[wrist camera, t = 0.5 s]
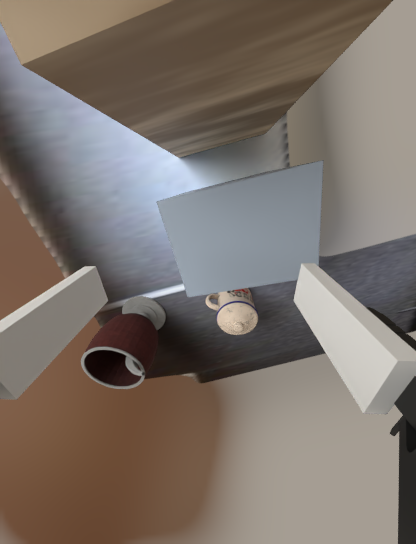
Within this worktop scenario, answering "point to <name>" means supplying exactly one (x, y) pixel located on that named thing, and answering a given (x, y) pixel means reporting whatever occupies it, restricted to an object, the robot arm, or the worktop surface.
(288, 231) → the slate base
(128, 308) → the mate gourd
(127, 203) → the worktop surface
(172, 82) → the oak stand
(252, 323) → the teacup with lid
